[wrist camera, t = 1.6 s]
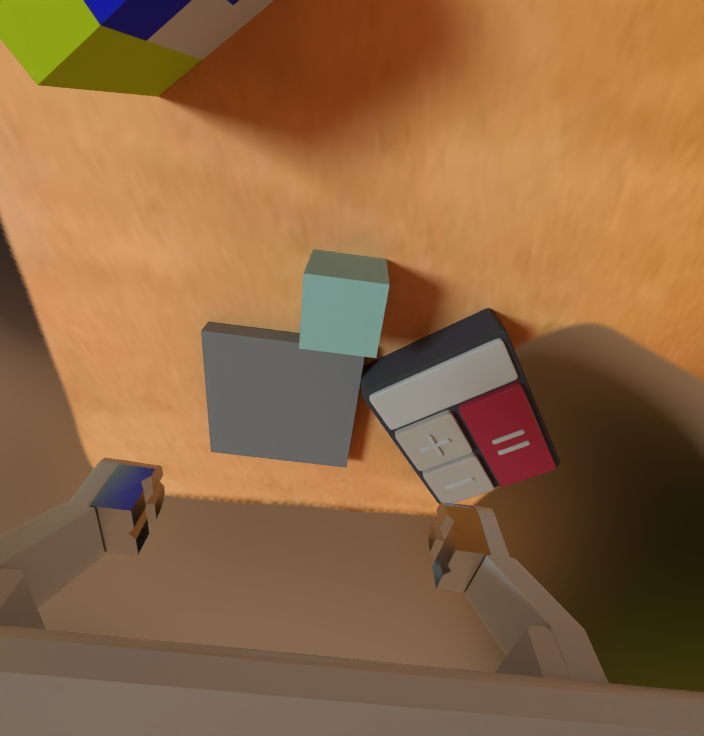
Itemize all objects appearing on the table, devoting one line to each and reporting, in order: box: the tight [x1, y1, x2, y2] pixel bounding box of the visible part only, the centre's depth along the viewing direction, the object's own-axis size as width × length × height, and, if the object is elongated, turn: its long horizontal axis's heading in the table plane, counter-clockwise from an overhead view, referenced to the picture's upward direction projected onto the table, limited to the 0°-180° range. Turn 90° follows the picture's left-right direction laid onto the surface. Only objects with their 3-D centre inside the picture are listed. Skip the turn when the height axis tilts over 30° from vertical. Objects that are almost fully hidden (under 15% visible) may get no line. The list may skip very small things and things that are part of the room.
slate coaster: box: [201, 322, 364, 467], centre depth 33 cm, size 12×12×2 cm
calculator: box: [361, 308, 560, 504], centre depth 33 cm, size 11×4×15 cm
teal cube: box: [299, 249, 390, 358], centre depth 27 cm, size 5×5×5 cm
